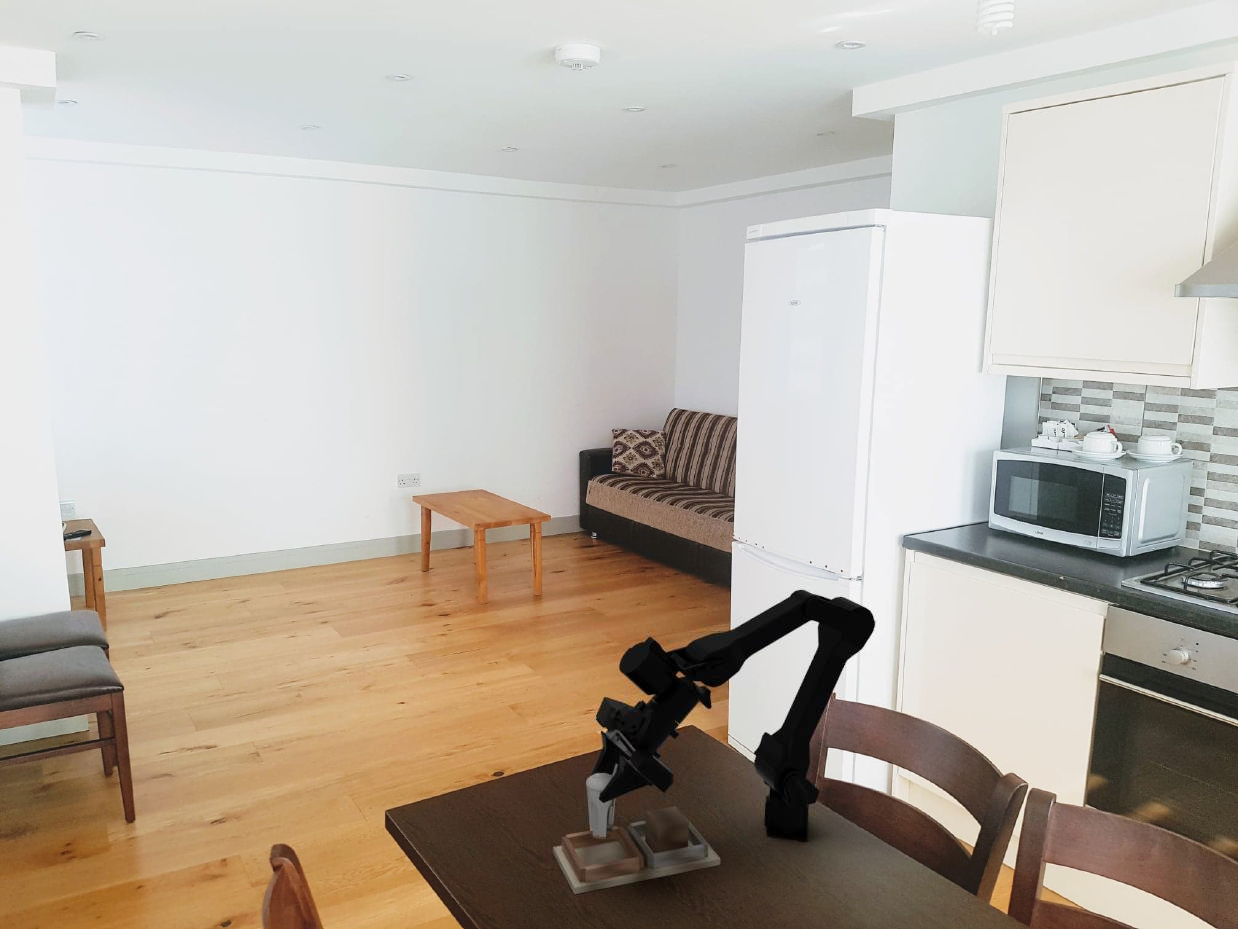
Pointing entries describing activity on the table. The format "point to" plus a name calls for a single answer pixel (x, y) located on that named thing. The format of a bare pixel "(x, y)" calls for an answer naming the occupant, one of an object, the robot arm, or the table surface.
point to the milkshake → (600, 806)
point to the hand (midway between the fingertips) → (595, 793)
